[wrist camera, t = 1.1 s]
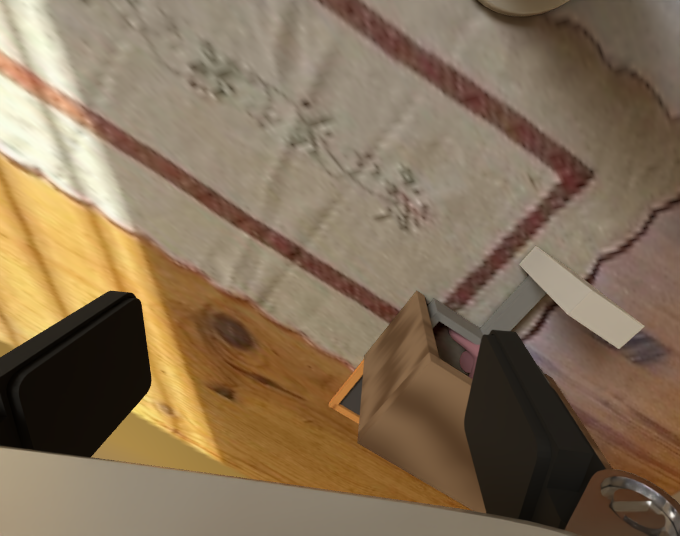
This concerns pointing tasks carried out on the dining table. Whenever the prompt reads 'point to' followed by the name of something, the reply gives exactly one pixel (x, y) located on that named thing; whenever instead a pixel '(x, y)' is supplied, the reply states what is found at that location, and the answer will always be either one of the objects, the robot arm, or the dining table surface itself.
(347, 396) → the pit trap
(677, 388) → the dining table surface
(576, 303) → the grey drawer with handle
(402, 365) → the brown wooden stand
